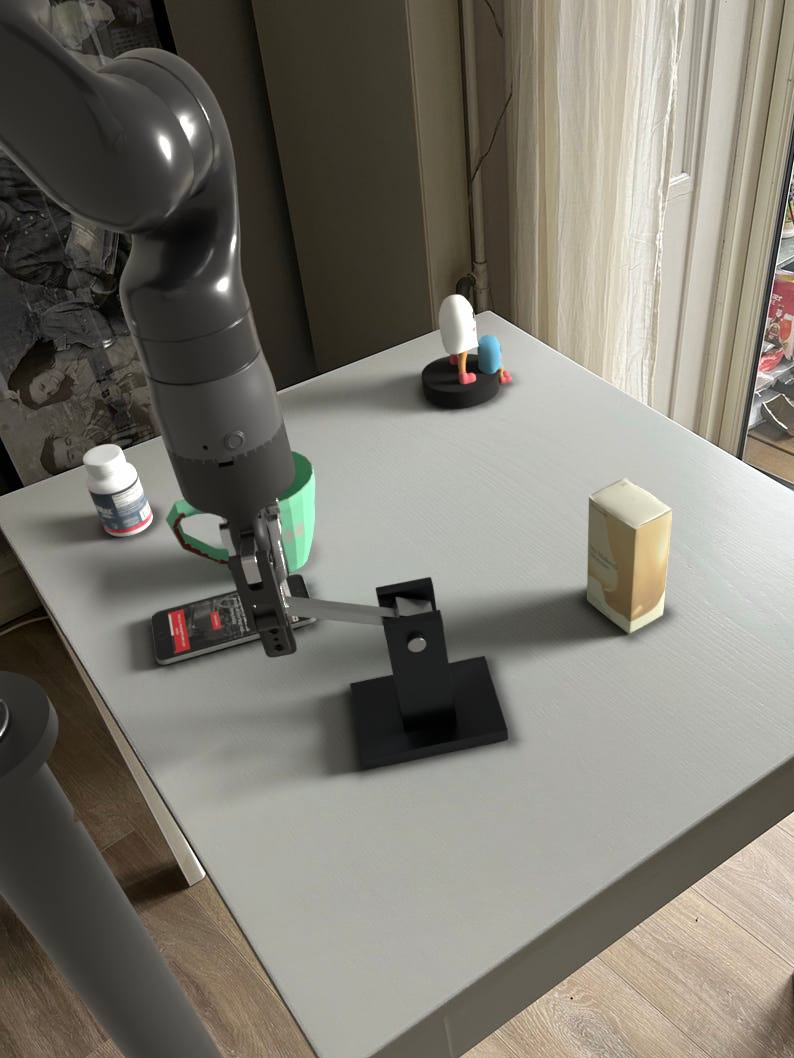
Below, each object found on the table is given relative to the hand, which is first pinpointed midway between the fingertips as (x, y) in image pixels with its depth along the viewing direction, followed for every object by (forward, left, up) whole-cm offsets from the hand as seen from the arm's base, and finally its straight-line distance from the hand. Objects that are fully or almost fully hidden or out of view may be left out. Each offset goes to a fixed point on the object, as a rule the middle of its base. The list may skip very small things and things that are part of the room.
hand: (279, 613), depth 73 cm
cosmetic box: (+30, +8, -14) cm, 34 cm away
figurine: (+24, +53, -14) cm, 60 cm away
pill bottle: (-17, +37, -14) cm, 43 cm away
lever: (+4, 0, -2) cm, 5 cm away
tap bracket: (+10, 0, -14) cm, 17 cm away
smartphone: (-6, +17, -14) cm, 23 cm away
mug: (-3, +25, -14) cm, 29 cm away
